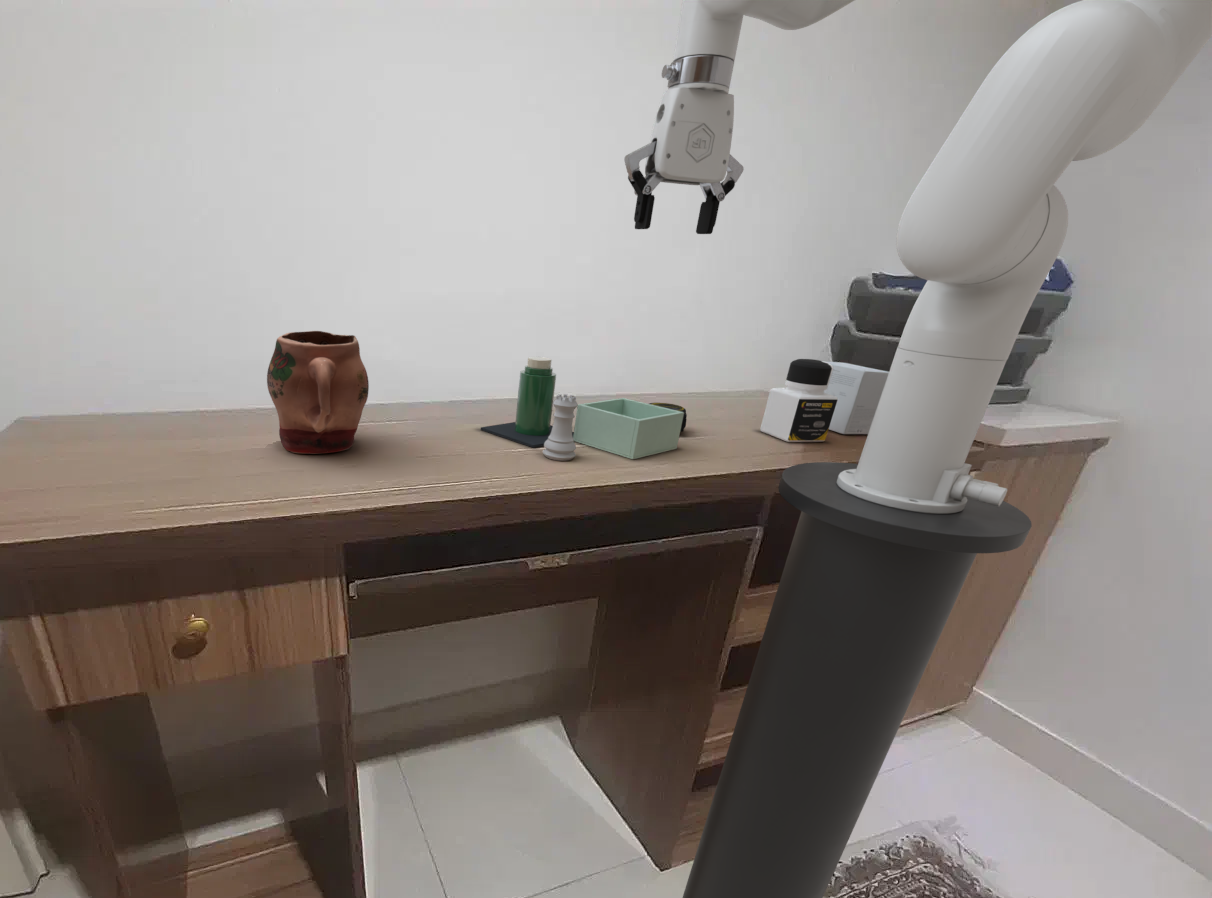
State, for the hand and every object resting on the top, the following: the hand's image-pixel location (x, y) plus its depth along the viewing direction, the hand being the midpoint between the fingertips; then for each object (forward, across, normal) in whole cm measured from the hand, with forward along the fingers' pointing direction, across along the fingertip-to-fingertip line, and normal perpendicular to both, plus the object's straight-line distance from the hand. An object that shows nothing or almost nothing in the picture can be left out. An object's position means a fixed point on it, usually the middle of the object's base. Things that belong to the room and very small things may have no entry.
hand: (673, 231), depth 90 cm
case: (+28, -6, -8) cm, 30 cm away
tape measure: (+28, +5, 0) cm, 29 cm away
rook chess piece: (+28, -18, -13) cm, 36 cm away
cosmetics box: (+28, +40, +2) cm, 49 cm away
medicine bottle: (+28, +26, -4) cm, 38 cm away
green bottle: (+28, -18, -1) cm, 33 cm away
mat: (+28, -18, -1) cm, 34 cm away
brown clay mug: (+28, -50, -8) cm, 58 cm away
